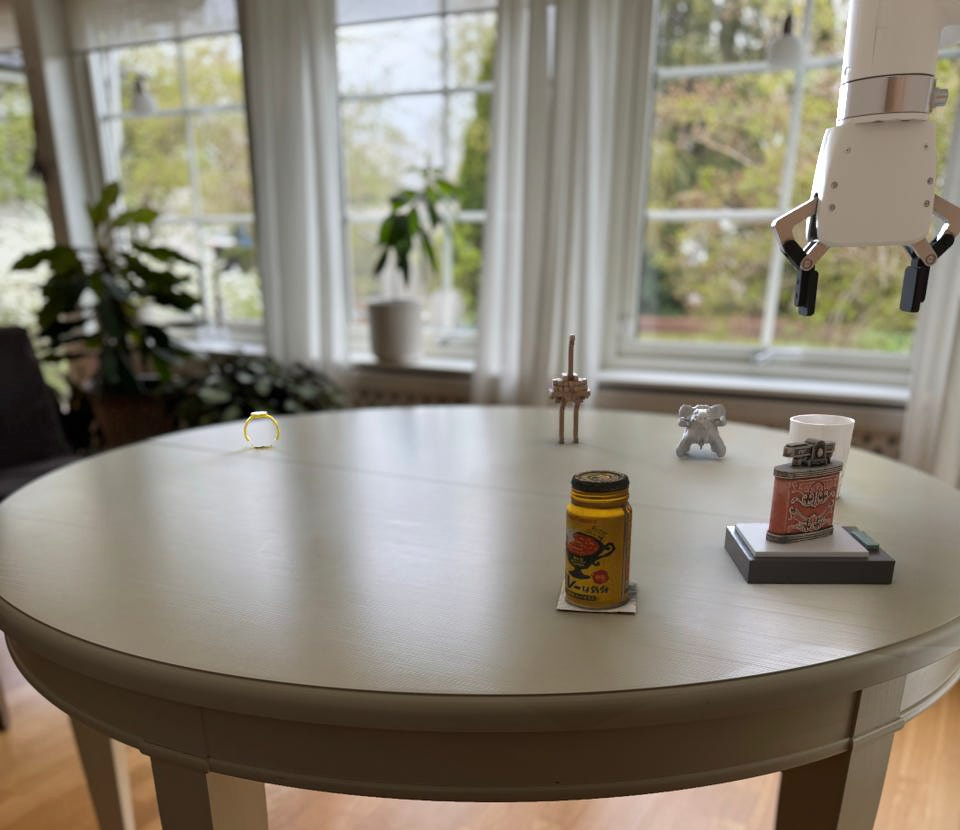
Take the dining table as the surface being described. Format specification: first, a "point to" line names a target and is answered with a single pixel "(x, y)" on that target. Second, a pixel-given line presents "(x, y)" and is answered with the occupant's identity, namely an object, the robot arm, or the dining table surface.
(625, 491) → the condiment
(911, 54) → the robot arm
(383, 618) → the dining table surface
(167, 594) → the dining table surface
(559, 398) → the ostrich figurine
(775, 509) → the lighter
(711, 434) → the elephant statuette
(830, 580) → the scale
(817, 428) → the white cup
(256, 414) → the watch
